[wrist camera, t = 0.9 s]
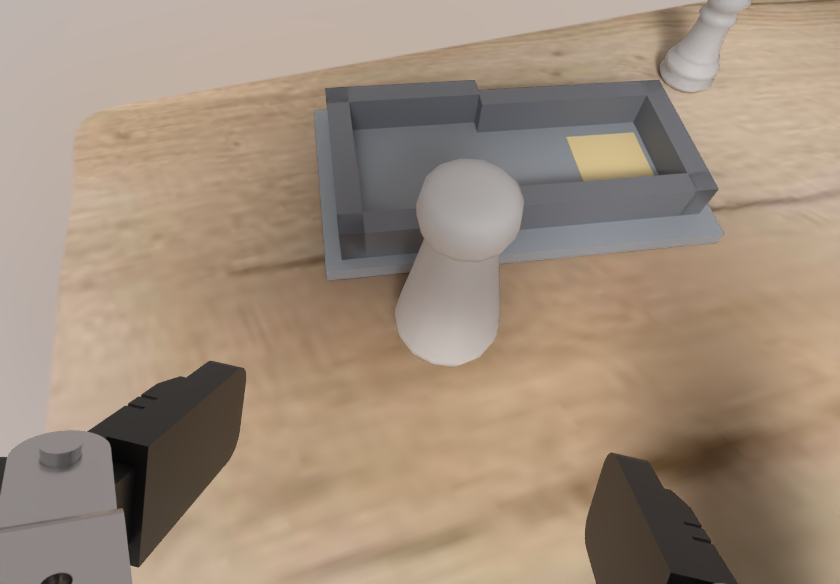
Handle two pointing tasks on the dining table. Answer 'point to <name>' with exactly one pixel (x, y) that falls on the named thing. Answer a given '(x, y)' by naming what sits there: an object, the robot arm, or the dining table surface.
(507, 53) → the dining table surface
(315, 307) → the dining table surface
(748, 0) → the rook chess piece
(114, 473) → the robot arm
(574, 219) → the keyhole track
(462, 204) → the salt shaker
